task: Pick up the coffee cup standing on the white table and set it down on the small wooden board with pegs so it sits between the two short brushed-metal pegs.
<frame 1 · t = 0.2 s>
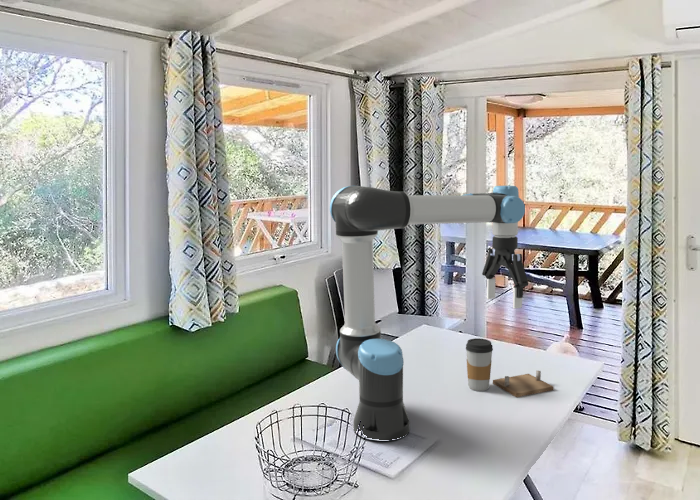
hand: (503, 303, 180), 27 cm above the table, fingers open, 13 cm apart
wooden board with pegs: (522, 386, 181), on the table
coffee cup: (478, 388, 181), on the table
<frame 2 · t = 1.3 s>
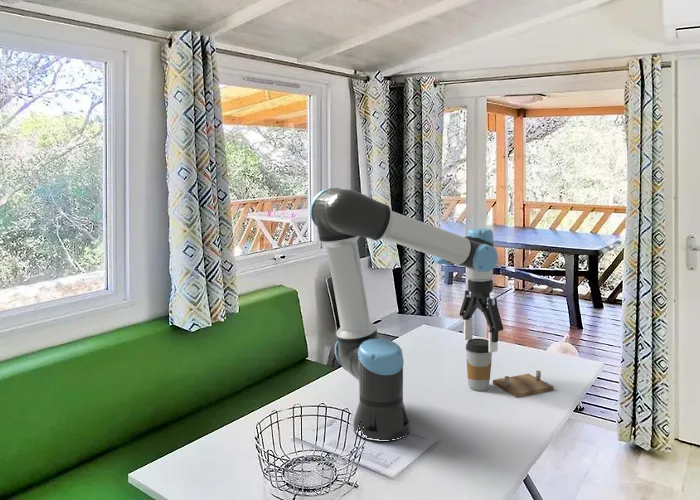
hand: (480, 345, 179), 14 cm above the table, fingers open, 13 cm apart
nothing on the table moved.
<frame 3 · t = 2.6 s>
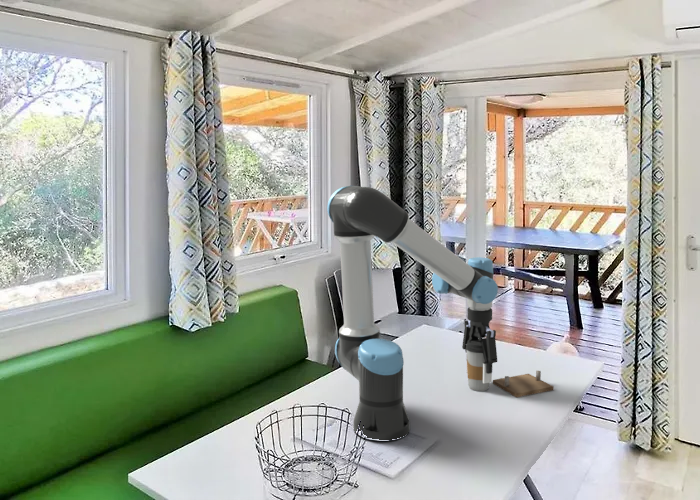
hand: (478, 377, 181), 3 cm above the table, fingers closed on coffee cup, 8 cm apart
coffee cup: (478, 388, 181), on the table, touching gripper
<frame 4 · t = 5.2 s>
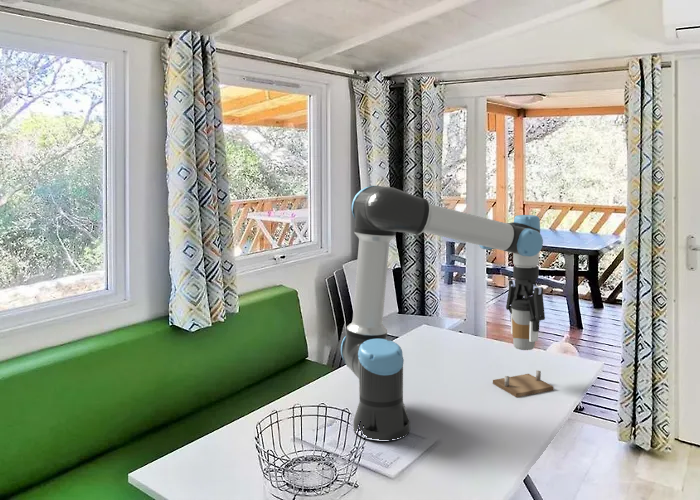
hand: (524, 337, 179), 16 cm above the table, fingers closed on coffee cup, 8 cm apart
coffee cup: (523, 347, 179), point 13 cm above the table, touching gripper
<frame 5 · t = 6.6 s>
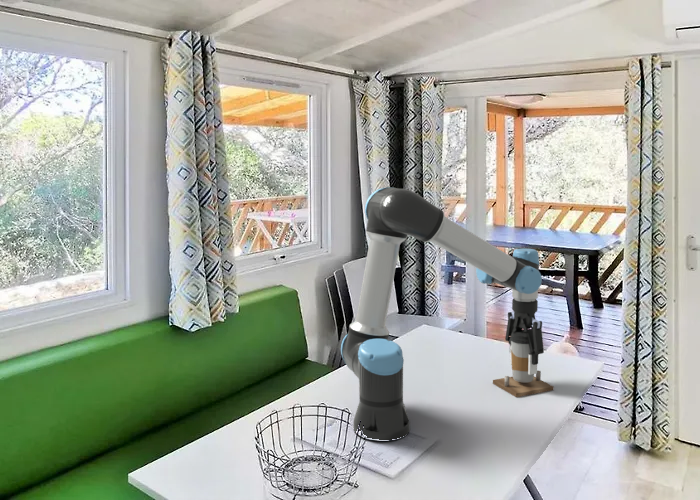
hand: (523, 368, 180), 6 cm above the table, fingers closed on coffee cup, 8 cm apart
coffee cup: (523, 379, 181), point 2 cm above the table, touching gripper
when the fingers open (5 cm above the table, at t = 7.6 s): coffee cup stays where it is, resting on wooden board with pegs.
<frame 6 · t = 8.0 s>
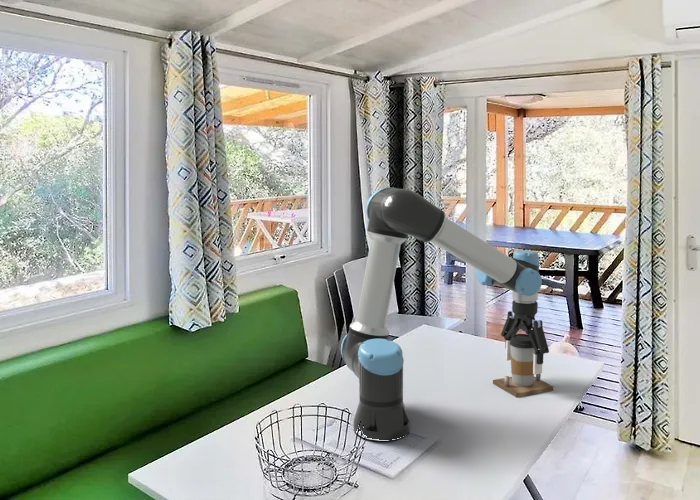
hand: (523, 366, 180), 7 cm above the table, fingers open, 13 cm apart
coffee cup: (522, 383, 181), point 1 cm above the table, touching wooden board with pegs
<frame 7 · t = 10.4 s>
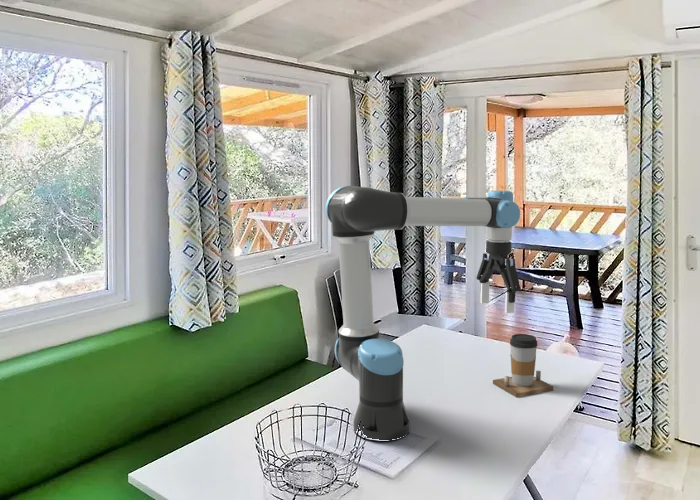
hand: (496, 307, 180), 25 cm above the table, fingers open, 13 cm apart
nothing on the table moved.
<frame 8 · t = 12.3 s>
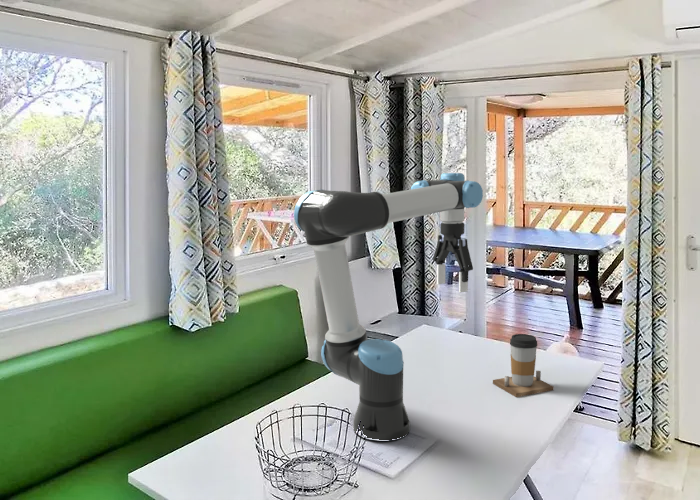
hand: (451, 287, 184), 31 cm above the table, fingers open, 13 cm apart
nothing on the table moved.
at the end: coffee cup 0.1 cm off-centre on the wooden board with pegs, point 1.0 cm above the wooden board with pegs's base; coffee cup tilted 0°; the gripper is holding nothing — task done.
